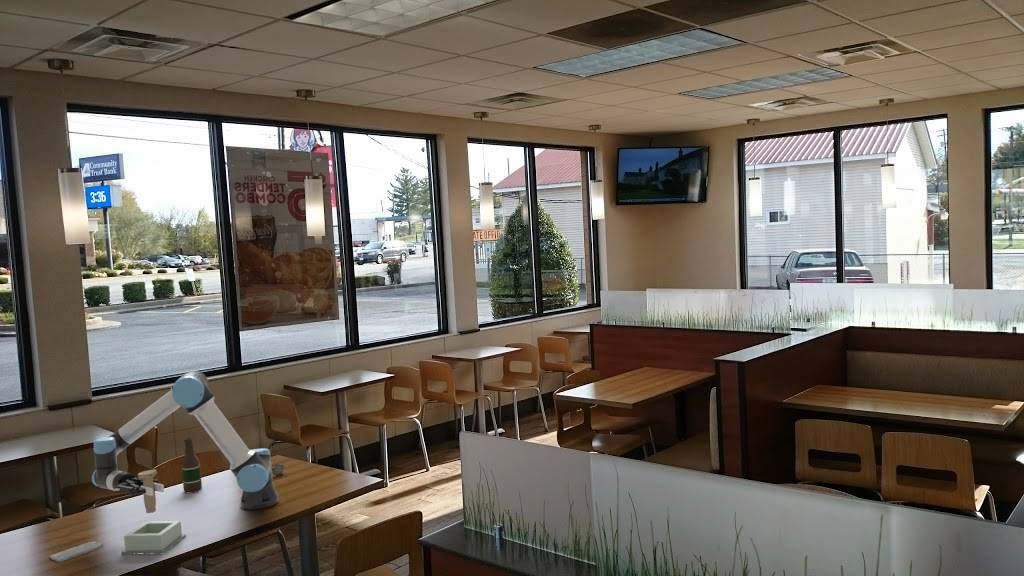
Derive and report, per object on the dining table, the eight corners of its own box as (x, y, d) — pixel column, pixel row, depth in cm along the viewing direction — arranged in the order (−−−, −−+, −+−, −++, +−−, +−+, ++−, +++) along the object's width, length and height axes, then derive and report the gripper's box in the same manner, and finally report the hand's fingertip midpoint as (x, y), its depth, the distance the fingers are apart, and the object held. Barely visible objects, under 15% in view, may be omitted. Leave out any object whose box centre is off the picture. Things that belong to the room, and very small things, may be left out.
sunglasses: (257, 483, 367) (255, 472, 367) (238, 481, 379) (237, 470, 379) (288, 473, 379) (287, 463, 379) (270, 471, 391) (268, 461, 391)
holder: (186, 536, 304) (184, 519, 303) (163, 553, 288) (161, 536, 288) (146, 537, 306) (144, 520, 305) (121, 554, 290) (119, 537, 289)
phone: (104, 547, 299) (103, 544, 299) (59, 563, 286) (59, 560, 286) (93, 543, 304) (92, 540, 304) (48, 559, 291) (48, 556, 291)
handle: (139, 513, 295) (135, 473, 294) (156, 508, 300) (152, 468, 299) (145, 516, 292) (142, 475, 291) (162, 510, 297) (159, 470, 296)
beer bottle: (195, 493, 357) (190, 440, 355) (180, 493, 358) (175, 440, 356) (205, 487, 364) (201, 435, 362) (190, 487, 366) (185, 435, 364)
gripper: (143, 485, 313) (178, 493, 299) (101, 498, 299) (136, 507, 286) (141, 466, 312) (177, 473, 299) (99, 478, 298) (134, 486, 285)
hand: (157, 490), depth 292 cm, fingers closed on handle, 4 cm apart
